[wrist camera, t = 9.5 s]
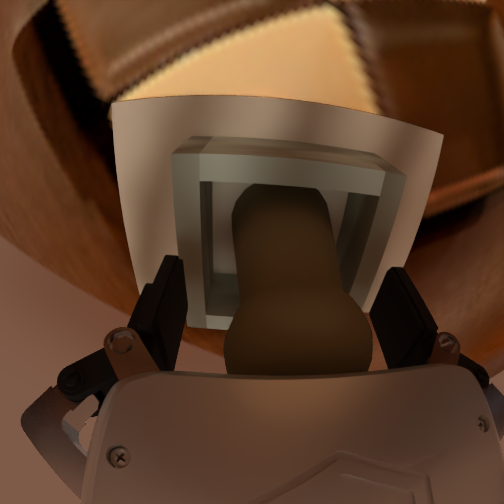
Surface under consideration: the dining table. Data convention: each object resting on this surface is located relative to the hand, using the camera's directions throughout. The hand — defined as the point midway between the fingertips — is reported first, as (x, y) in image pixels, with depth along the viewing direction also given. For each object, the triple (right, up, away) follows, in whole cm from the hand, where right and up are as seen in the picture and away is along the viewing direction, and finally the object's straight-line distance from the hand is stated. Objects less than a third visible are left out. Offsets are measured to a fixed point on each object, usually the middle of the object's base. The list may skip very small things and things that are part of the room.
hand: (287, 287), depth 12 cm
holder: (0, +4, +6) cm, 7 cm away
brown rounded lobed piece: (0, +3, +5) cm, 6 cm away
